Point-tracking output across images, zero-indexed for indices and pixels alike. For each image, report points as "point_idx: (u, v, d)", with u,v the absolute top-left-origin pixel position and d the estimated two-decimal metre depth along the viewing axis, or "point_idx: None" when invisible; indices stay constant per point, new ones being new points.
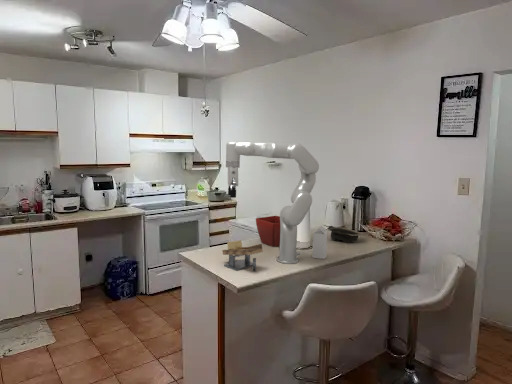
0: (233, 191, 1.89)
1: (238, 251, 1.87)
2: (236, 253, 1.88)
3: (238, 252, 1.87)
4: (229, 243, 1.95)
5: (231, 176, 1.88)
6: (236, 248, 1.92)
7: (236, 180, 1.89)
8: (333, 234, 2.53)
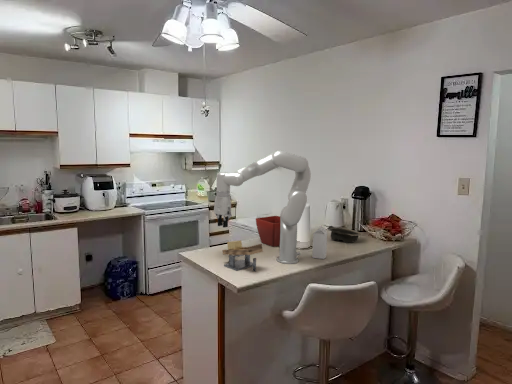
0: None
1: (238, 251, 1.87)
2: (236, 253, 1.88)
3: (238, 252, 1.87)
4: (229, 243, 1.95)
5: None
6: (236, 248, 1.92)
7: None
8: (333, 234, 2.53)
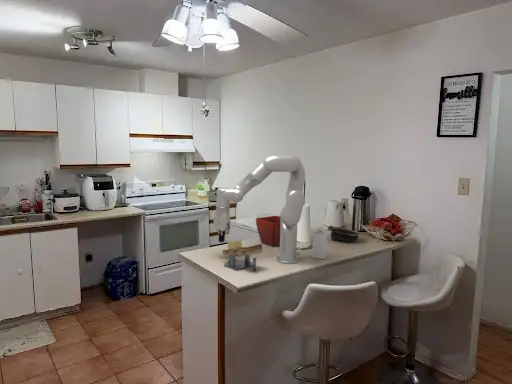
0: None
1: (238, 251, 1.87)
2: (236, 253, 1.88)
3: (238, 252, 1.87)
4: (229, 243, 1.95)
5: None
6: (236, 248, 1.92)
7: None
8: (333, 234, 2.53)
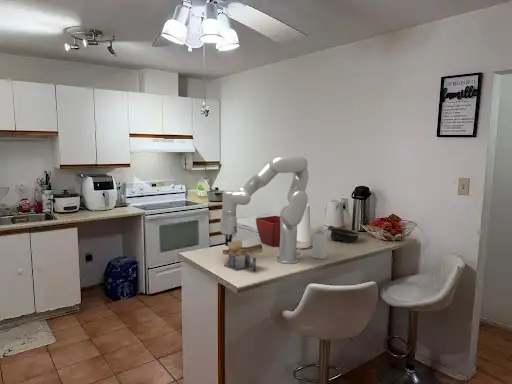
0: None
1: (238, 251, 1.87)
2: (236, 253, 1.88)
3: (238, 252, 1.87)
4: (229, 243, 1.95)
5: None
6: (236, 248, 1.92)
7: None
8: (333, 234, 2.53)
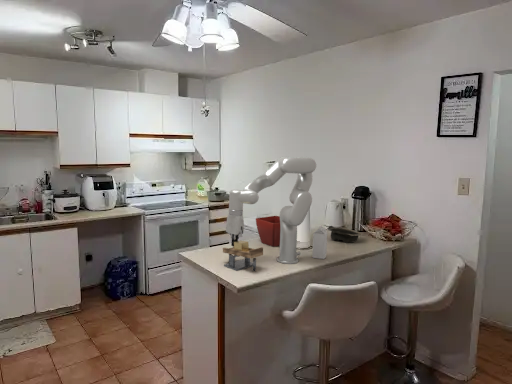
0: None
1: (239, 252, 1.87)
2: (236, 254, 1.88)
3: (239, 253, 1.87)
4: (236, 243, 1.90)
5: None
6: (242, 249, 1.88)
7: None
8: (333, 234, 2.53)
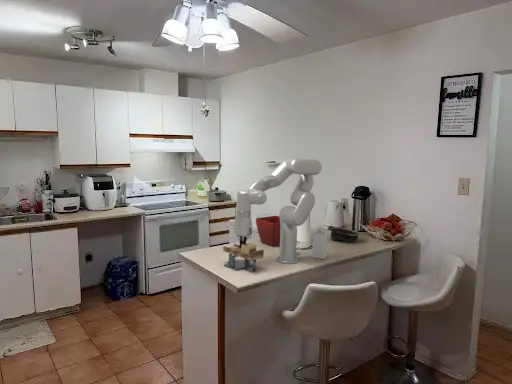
0: None
1: (239, 253, 1.87)
2: (237, 254, 1.88)
3: (239, 254, 1.87)
4: (243, 246, 1.86)
5: None
6: None
7: None
8: (333, 234, 2.53)
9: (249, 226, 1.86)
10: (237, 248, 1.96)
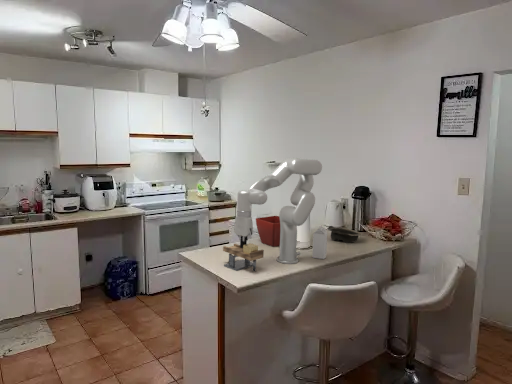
0: None
1: (239, 253, 1.87)
2: (237, 254, 1.88)
3: (239, 254, 1.87)
4: (245, 246, 1.85)
5: None
6: None
7: None
8: (333, 234, 2.53)
9: (250, 226, 1.86)
10: (237, 248, 1.96)
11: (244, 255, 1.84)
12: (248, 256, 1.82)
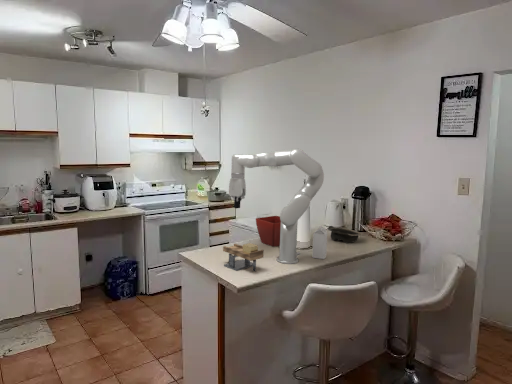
0: None
1: (239, 253, 1.87)
2: (237, 254, 1.88)
3: (239, 254, 1.87)
4: (245, 246, 1.85)
5: None
6: None
7: None
8: (333, 234, 2.53)
9: (243, 187, 2.01)
10: (237, 248, 1.96)
11: (244, 255, 1.84)
12: (248, 256, 1.82)
